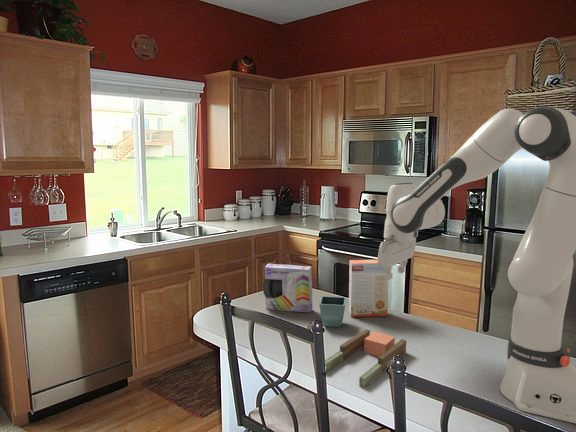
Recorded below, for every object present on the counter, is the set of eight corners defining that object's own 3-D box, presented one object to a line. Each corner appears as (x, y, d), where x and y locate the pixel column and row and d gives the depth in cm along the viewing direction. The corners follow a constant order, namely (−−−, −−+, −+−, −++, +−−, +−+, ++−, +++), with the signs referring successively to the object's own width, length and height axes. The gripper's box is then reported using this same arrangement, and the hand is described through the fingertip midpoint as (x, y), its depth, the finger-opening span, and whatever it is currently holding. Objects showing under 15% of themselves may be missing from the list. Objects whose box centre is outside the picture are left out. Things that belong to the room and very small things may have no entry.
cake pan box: (262, 309, 176) (262, 265, 173) (266, 304, 181) (266, 262, 178) (309, 314, 170) (310, 269, 168) (312, 309, 175) (313, 266, 172)
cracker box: (383, 311, 174) (385, 258, 171) (387, 317, 168) (389, 262, 165) (347, 311, 173) (349, 258, 170) (350, 317, 167) (352, 262, 164)
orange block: (394, 350, 140) (394, 336, 140) (385, 358, 135) (385, 344, 134) (373, 344, 144) (374, 331, 144) (364, 352, 139) (364, 338, 138)
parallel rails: (405, 352, 138) (406, 340, 138) (364, 387, 118) (364, 373, 117) (365, 340, 147) (365, 329, 146) (320, 371, 126) (320, 358, 126)
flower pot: (318, 328, 157) (319, 303, 156) (321, 319, 165) (321, 295, 164) (344, 330, 155) (344, 305, 154) (345, 320, 164) (345, 297, 163)
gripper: (393, 240, 131) (389, 285, 133) (420, 230, 147) (416, 271, 149) (373, 236, 135) (370, 280, 137) (402, 227, 151) (398, 267, 153)
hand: (394, 275), depth 143 cm, fingers open, 8 cm apart
